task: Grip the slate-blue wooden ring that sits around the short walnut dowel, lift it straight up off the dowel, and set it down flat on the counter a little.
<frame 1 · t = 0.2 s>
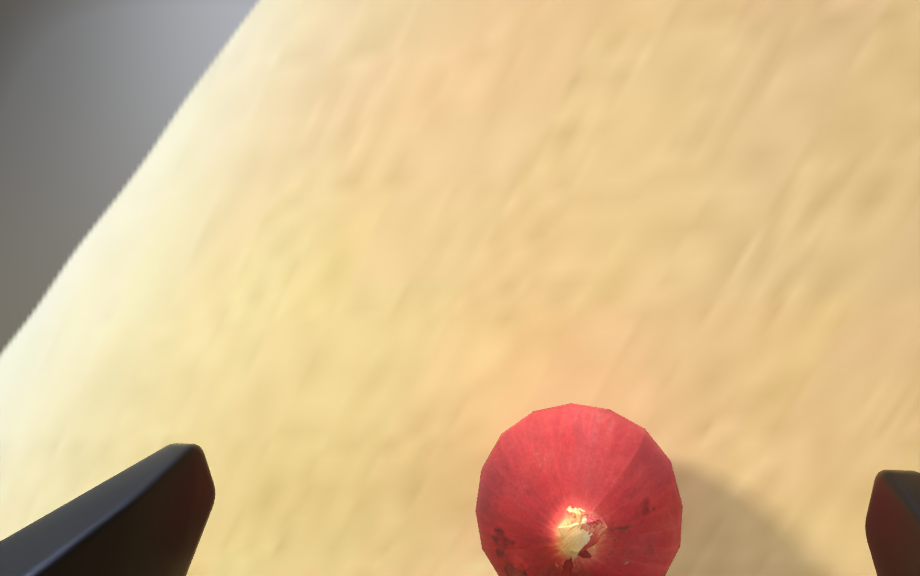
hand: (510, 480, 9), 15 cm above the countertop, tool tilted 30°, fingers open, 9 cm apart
onion: (577, 483, 24), on the countertop
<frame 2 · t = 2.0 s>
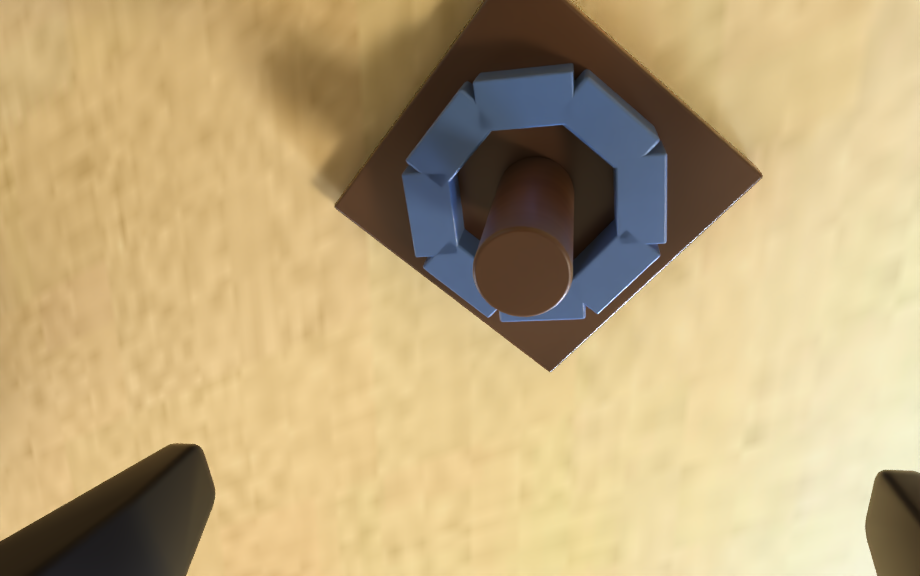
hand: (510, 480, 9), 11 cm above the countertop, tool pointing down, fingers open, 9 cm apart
dowel stand: (537, 183, 19), on the countertop
ring: (535, 193, 18), point 1 cm above the countertop, touching dowel stand
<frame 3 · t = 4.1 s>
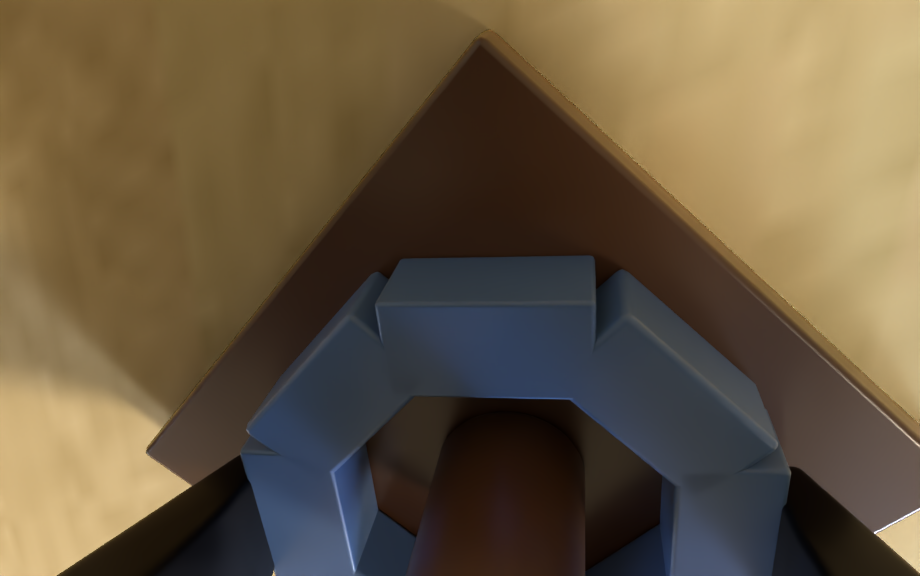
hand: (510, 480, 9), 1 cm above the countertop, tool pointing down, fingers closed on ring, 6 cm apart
dowel stand: (516, 431, 10), on the countertop
ring: (510, 468, 9), point 1 cm above the countertop, touching dowel stand, gripper
when the fingers open (0 cm above the countertop, at t = 10.6 s): ring stays where it is, on the countertop.
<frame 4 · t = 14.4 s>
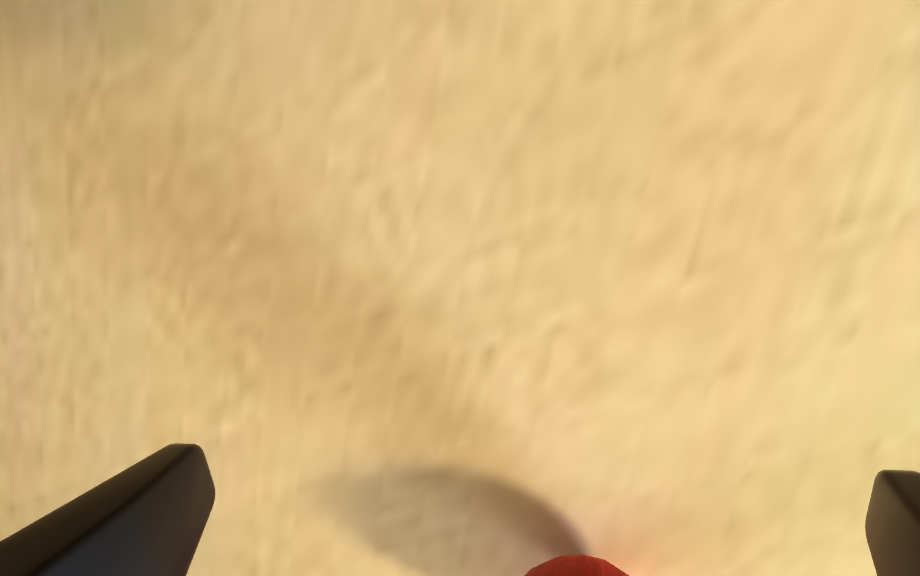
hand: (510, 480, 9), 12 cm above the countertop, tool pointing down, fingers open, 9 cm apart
onion: (580, 559, 26), on the countertop
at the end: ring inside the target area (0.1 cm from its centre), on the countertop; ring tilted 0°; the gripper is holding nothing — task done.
